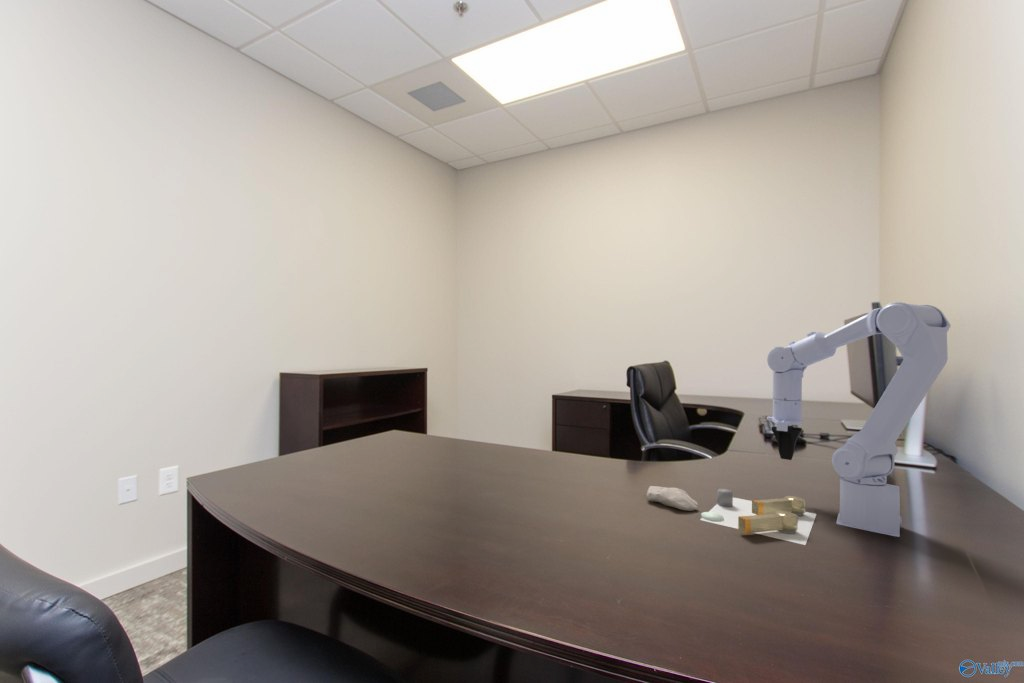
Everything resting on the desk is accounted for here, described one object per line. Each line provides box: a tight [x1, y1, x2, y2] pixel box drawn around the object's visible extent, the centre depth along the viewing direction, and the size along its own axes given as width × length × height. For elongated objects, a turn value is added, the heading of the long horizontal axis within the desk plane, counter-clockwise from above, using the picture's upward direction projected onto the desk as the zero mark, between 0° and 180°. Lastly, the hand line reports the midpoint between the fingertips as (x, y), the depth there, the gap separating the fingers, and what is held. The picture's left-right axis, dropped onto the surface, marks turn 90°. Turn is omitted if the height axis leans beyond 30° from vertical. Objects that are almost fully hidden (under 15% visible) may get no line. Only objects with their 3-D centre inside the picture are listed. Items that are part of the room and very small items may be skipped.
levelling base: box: [699, 488, 817, 546], centre depth 92 cm, size 18×20×4 cm
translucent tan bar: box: [737, 511, 798, 535], centre depth 84 cm, size 12×4×2 cm, turn 106°
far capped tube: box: [751, 495, 806, 515], centre depth 93 cm, size 12×4×2 cm, turn 106°
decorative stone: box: [646, 485, 699, 512], centre depth 101 cm, size 11×4×15 cm
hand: (786, 458), depth 105 cm, fingers closed
